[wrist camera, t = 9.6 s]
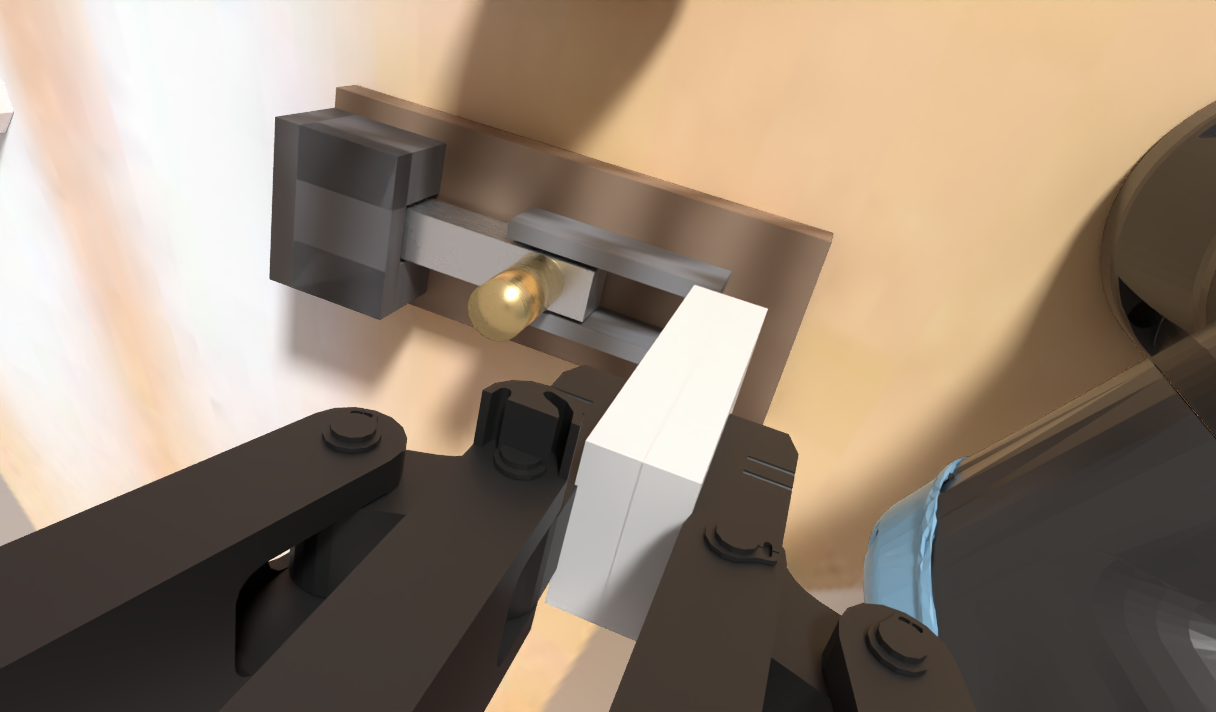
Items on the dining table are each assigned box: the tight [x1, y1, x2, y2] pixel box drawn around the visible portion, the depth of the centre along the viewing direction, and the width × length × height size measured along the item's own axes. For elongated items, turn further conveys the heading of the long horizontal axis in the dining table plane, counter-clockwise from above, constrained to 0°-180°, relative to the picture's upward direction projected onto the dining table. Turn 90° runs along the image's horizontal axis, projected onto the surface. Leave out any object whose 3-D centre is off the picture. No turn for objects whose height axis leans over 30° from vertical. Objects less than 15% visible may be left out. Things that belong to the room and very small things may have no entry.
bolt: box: [400, 197, 608, 341], centre depth 43 cm, size 16×3×8 cm, turn 74°
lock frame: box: [269, 85, 833, 425], centre depth 45 cm, size 30×12×7 cm, turn 74°
